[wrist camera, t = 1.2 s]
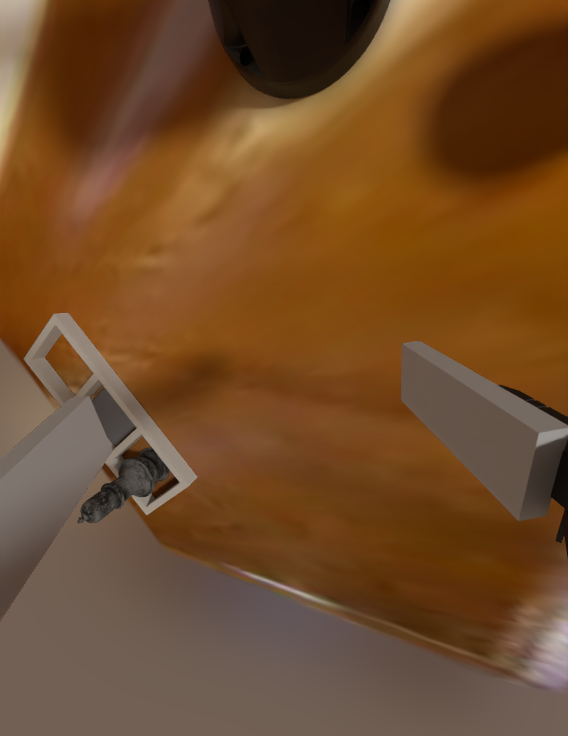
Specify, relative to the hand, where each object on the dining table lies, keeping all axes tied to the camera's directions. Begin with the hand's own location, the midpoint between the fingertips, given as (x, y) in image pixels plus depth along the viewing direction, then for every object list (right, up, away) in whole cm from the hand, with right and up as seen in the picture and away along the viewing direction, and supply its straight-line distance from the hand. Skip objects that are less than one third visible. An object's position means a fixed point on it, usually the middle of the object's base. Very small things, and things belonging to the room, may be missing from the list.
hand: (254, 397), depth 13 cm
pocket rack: (-24, -5, +32) cm, 40 cm away
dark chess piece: (-18, -13, +32) cm, 39 cm away
